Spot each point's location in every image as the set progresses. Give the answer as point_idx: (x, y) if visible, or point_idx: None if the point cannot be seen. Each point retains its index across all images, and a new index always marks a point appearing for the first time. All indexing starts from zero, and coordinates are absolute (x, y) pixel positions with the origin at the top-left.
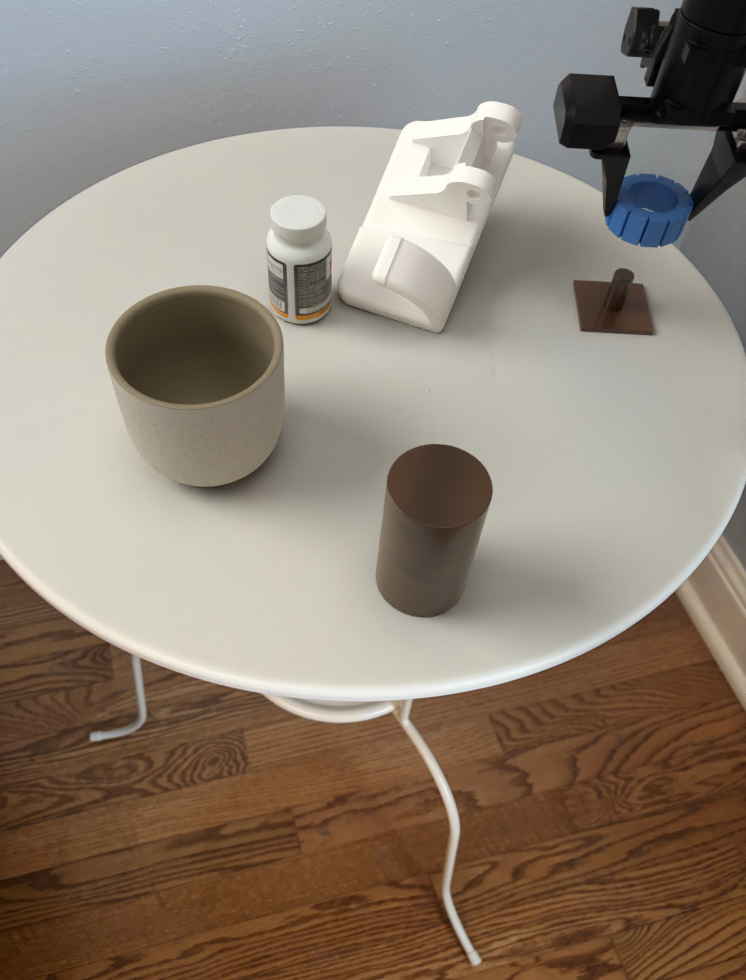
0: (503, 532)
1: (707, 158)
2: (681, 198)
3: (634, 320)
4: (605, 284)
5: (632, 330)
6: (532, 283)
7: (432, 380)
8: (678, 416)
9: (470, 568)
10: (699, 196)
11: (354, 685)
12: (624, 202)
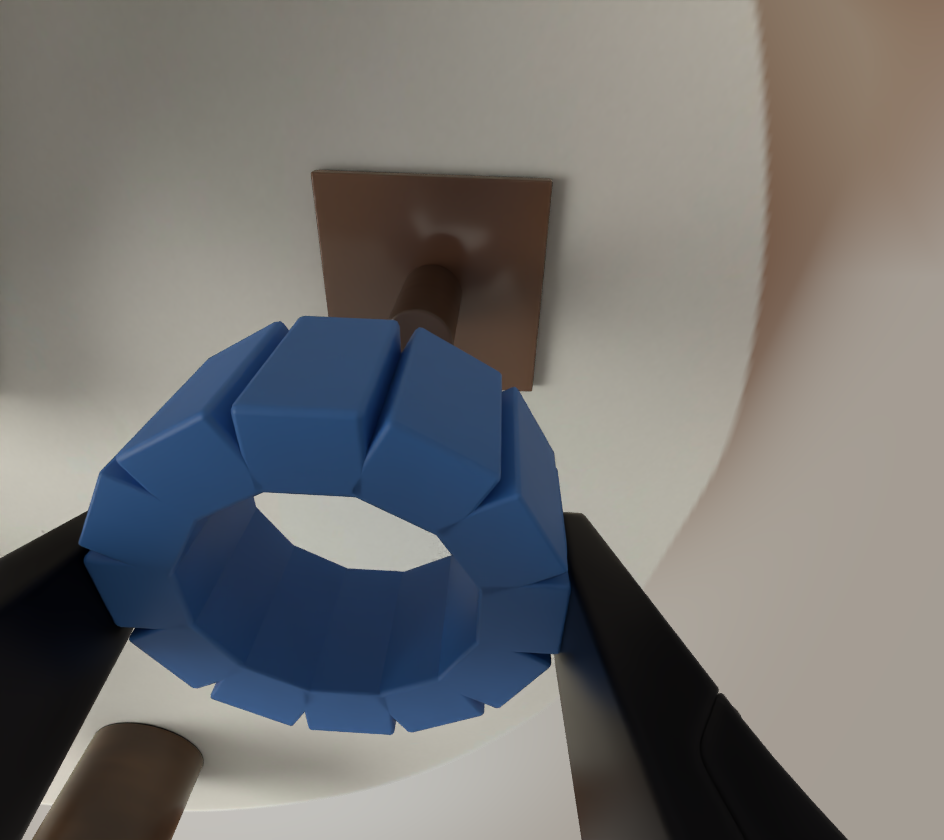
0: (236, 718)
1: (659, 831)
2: (499, 619)
3: (486, 354)
4: (418, 193)
5: None
6: (181, 176)
7: (37, 511)
8: None
9: (178, 821)
10: (570, 722)
11: None
12: (167, 648)
